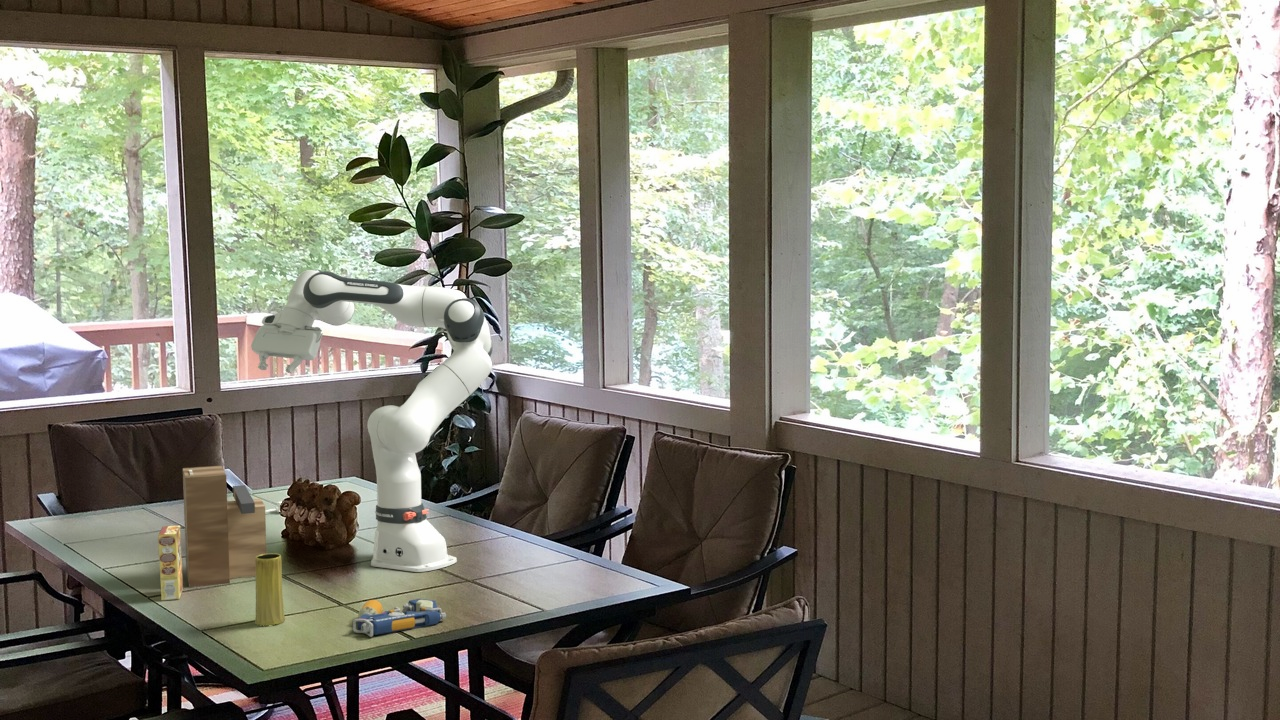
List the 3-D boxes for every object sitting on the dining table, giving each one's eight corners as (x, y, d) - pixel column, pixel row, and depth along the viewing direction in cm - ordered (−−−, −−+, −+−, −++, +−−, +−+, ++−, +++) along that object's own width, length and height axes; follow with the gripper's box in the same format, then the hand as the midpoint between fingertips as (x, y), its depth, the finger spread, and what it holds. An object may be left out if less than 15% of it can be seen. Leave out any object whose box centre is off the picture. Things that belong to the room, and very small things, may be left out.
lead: (232, 495, 308) (232, 486, 308) (245, 494, 310) (245, 485, 309) (241, 513, 286) (241, 503, 286) (255, 512, 288) (254, 502, 287)
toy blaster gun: (334, 623, 258) (363, 642, 246) (334, 603, 258) (363, 622, 246) (423, 608, 271) (455, 626, 259) (423, 589, 270) (455, 606, 258)
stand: (186, 572, 299) (182, 467, 296) (262, 565, 306) (259, 461, 303) (189, 587, 286) (185, 476, 283) (269, 578, 293) (265, 471, 291)
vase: (288, 617, 262) (286, 552, 260) (280, 626, 256) (278, 559, 254) (259, 617, 261) (257, 552, 260) (251, 626, 255) (249, 559, 254)
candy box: (180, 599, 275) (177, 533, 274) (160, 601, 274) (157, 534, 273) (183, 589, 284) (181, 524, 283) (164, 590, 283) (161, 526, 281)
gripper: (331, 333, 328) (312, 379, 323) (272, 327, 336) (253, 372, 331) (317, 322, 323) (298, 369, 317) (258, 316, 331) (239, 362, 326)
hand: (275, 370), depth 324 cm, fingers open, 8 cm apart
